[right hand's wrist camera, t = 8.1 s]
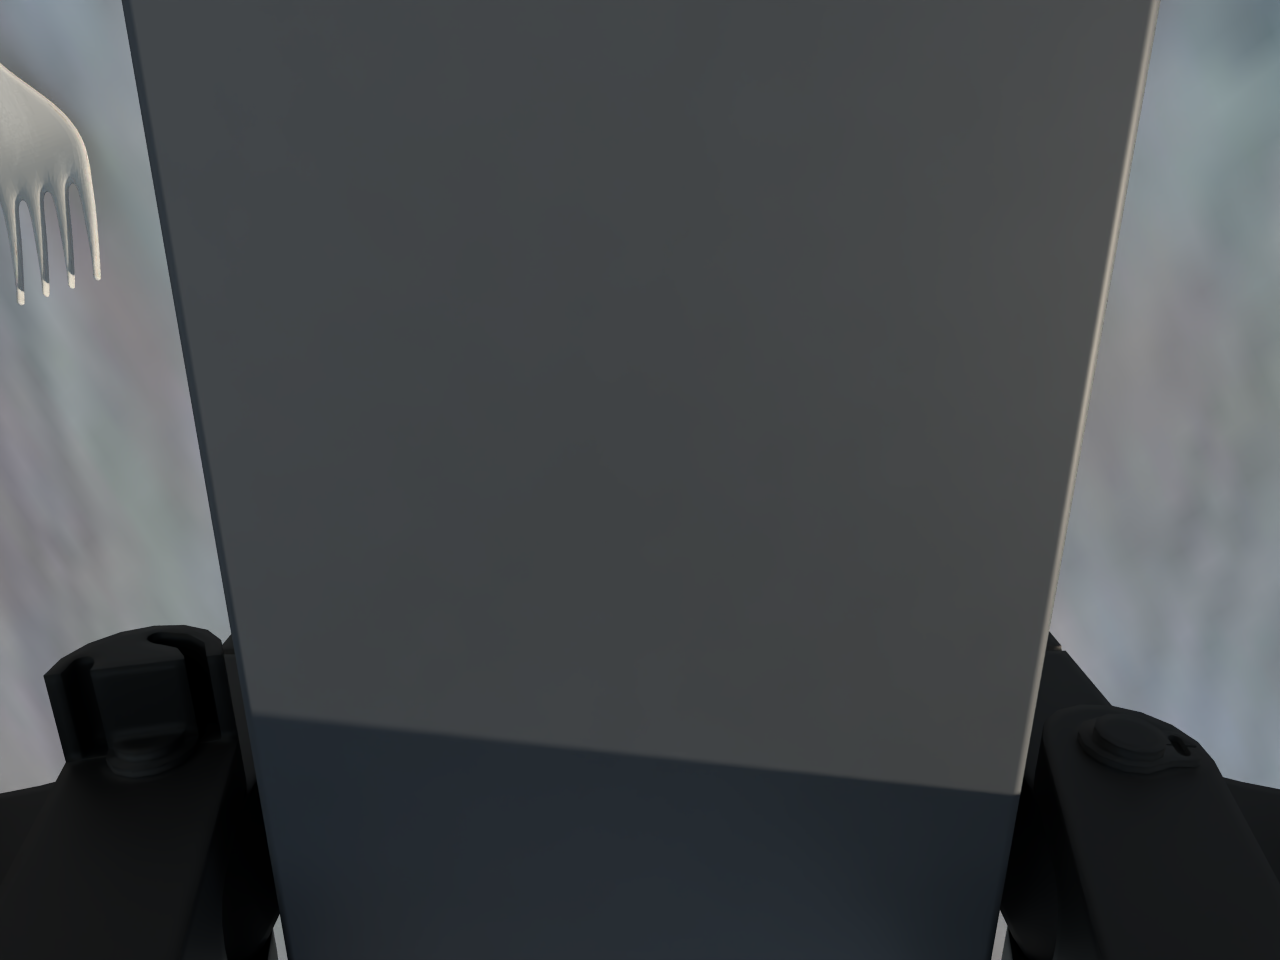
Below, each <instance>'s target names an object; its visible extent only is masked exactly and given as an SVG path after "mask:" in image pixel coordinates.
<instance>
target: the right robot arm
mask: <svg viewBox="0 0 1280 960" xmlns="http://www.w3.org/2000/svg"><path fill="white" fill-rule="evenodd" d="M44 680H45V683H46V687H47V691H48V695H49V699H50V703H51V707H52V710H53V714H54V718H55V722H56V726H57V730H58V733H59V737H60V741H61V745H62V749H63V753H64V757H65V760H66V763H65V765H64V767H63V769H62V771H61V773H60V775H59V776H58V778H57V780H56V782H53V783H49V784H45V785H41V786H37V787H32V788H26V789H21V790H16V791H11V792H6V793H1V794H0V960H278V955H277V948H276V943H275V937H274V931H273V927H274V925H275V923H276V921H277V918H278V916H279V914H280V911H279V906H278V900H277V894H276V888H275V883H274V877H273V871H272V865H271V859H270V854H269V848H268V842H267V836H266V831H265V825H264V819H263V813H262V807H261V802H260V796H259V790H258V784H257V779H256V773H255V767H254V761H253V755H252V750H251V744H250V738H249V732H248V727H247V721H246V715H245V709H244V704H243V698H242V692H241V686H240V680H239V675H238V669H237V663H236V657H235V652H234V646H233V640H232V634H231V635H230V636H229V637H228V639H227V640H226V641H225V642H224V643H223V645H222V642H221V640H220V639H219V638H218V637H216V636H215V635H214V634H212V633H211V632H210V631H208V630H206V629H201V628H196V627H191V626H187V625H167V626H151V627H145V628H140V629H135V630H130V631H124V632H120V633H117V634H114V635H111V636H108V637H106V638H103V639H100V640H97V641H94V642H91V643H88V644H87V645H85V646H83V647H81V648H79V649H78V650H76V651H74V652H72V653H70V654H69V655H67V656H65V657H63V658H61V659H60V660H59V661H58V662H57V663H56V664H55V665H54V666H53V667H52V668H51V669H50V670H49V671H48V672H47V673H46V674H45V675H44ZM1000 911H1001V913H1002V915H1003V917H1004V919H1005V921H1006V923H1007V925H1008V926H1007V931H1006V937H1005V943H1004V948H1003V954H1002V959H1001V960H1280V789H1275V788H1270V787H1265V786H1260V785H1255V784H1250V783H1245V782H1240V781H1236V780H1232V779H1228V778H1224V777H1222V775H1221V773H1220V771H1219V769H1218V767H1217V765H1216V764H1215V762H1214V760H1213V759H1212V758H1211V757H1210V756H1209V754H1208V753H1207V752H1206V751H1205V750H1204V749H1203V747H1202V746H1201V745H1200V744H1199V743H1198V742H1197V741H1196V740H1194V739H1193V738H1191V737H1189V736H1188V735H1186V734H1185V733H1183V732H1182V731H1180V730H1179V729H1177V728H1176V727H1174V726H1173V725H1171V724H1168V723H1166V722H1163V721H1161V720H1159V719H1156V718H1154V717H1151V716H1149V715H1146V714H1144V713H1142V712H1137V711H1133V710H1128V709H1124V708H1119V707H1115V706H1112V705H1111V704H1110V703H1109V702H1108V701H1107V699H1106V698H1105V697H1104V696H1103V695H1102V693H1101V692H1100V691H1099V690H1098V689H1097V688H1096V686H1095V685H1094V684H1093V683H1092V682H1091V680H1090V679H1089V678H1088V677H1087V676H1086V674H1085V673H1084V672H1083V671H1082V670H1081V669H1080V667H1079V666H1078V665H1077V664H1076V663H1075V661H1074V660H1073V659H1072V658H1071V657H1070V655H1069V654H1068V653H1067V652H1066V651H1062V650H1061V645H1060V644H1059V642H1058V641H1057V640H1056V639H1055V638H1054V636H1053V635H1052V634H1051V633H1050V632H1049V634H1048V640H1047V645H1046V651H1045V657H1044V662H1043V668H1042V674H1041V679H1040V685H1039V691H1038V696H1037V702H1036V708H1035V713H1034V719H1033V725H1032V730H1031V736H1030V742H1029V747H1028V753H1027V759H1026V764H1025V770H1024V776H1023V781H1022V787H1021V793H1020V798H1019V804H1018V810H1017V815H1016V821H1015V827H1014V832H1013V838H1012V844H1011V849H1010V855H1009V861H1008V866H1007V872H1006V878H1005V883H1004V889H1003V894H1002V900H1001V906H1000Z"/></svg>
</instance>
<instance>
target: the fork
mask: <svg viewBox="0 0 1280 960" xmlns="http://www.w3.org/2000/svg"><path fill="white" fill-rule="evenodd" d="M72 183H74V184H75V185H76V186H77V189H78V191H79V195H80V199H81V203H82V208H83V213H84V218H85V223H86V228H87V234H88V239H89V245H90V251H91V257H92V264H93V276H94V279H96V280H100V279H101V275H100V258H99V242H98V230H97V218H96V208H95V200H94V193H93V185H92V178H91V171H90V165H89V159H88V155H87V151H86V148H85V145H84V142H83V140H82V138H81V136H80V134H79V132H78V131H77V129H76V128H75V126H74V125H73V124H72V122H71V121H70V120H69V119H68V117H67V116H66V115H65V114H64V113H63V112H62V111H61V110H60V109H59V108H58V107H57V106H55V105H54V104H53V103H52V102H51V101H49V100H48V99H47V98H46V97H44V96H43V95H42V94H40V93H39V92H38V91H36V90H35V89H34V88H32V87H31V86H29V85H28V84H27V83H25V82H24V81H22V80H21V79H20V78H18V77H17V76H16V75H14V74H13V73H12V72H10V71H9V70H8V69H7V68H5V67H4V66H3V65H2V64H1V63H0V203H1V206H2V210H3V213H4V218H5V222H6V227H7V232H8V238H9V244H10V250H11V256H12V262H13V268H14V275H15V283H16V292H17V303H18V304H19V305H24V276H23V258H22V243H21V231H20V222H19V203H20V202H21V201H22V200H24V201H25V202H26V203H27V206H28V208H29V212H30V216H31V220H32V225H33V230H34V236H35V242H36V248H37V253H38V259H39V266H40V273H41V280H42V291H43V294H44V295H45V296H46V297H49V267H48V251H47V236H46V225H45V215H44V195H45V193H46V192H50V193H51V195H52V197H53V200H54V204H55V208H56V212H57V217H58V222H59V227H60V233H61V238H62V244H63V250H64V256H65V262H66V269H67V277H68V285H69V287H71V288H74V287H75V275H74V256H73V240H72V228H71V218H70V208H69V186H70V184H72Z"/></svg>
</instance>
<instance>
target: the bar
mask: <svg viewBox="0 0 1280 960" xmlns="http://www.w3.org/2000/svg"><path fill="white" fill-rule="evenodd" d="M122 5H123V11H124V16H125V22H126V28H127V34H128V39H129V45H130V51H131V57H132V63H133V68H134V74H135V80H136V86H137V91H138V97H139V103H140V109H141V115H142V120H143V126H144V132H145V138H146V143H147V149H148V155H149V161H150V166H151V172H152V178H153V184H154V190H155V195H156V201H157V207H158V213H159V218H160V224H161V230H162V236H163V242H164V247H165V253H166V259H167V265H168V270H169V276H170V282H171V288H172V294H173V299H174V305H175V311H176V317H177V322H178V328H179V334H180V340H181V345H182V351H183V357H184V363H185V369H186V374H187V380H188V386H189V392H190V397H191V403H192V409H193V415H194V421H195V426H196V432H197V438H198V444H199V449H200V455H201V461H202V467H203V473H204V478H205V484H206V490H207V496H208V501H209V507H210V513H211V519H212V525H213V530H214V536H215V542H216V548H217V553H218V559H219V565H220V571H221V576H222V582H223V588H224V594H225V600H226V605H227V611H228V617H229V623H230V628H231V634H232V640H233V646H234V652H235V657H236V663H237V669H238V675H239V680H240V686H241V692H242V698H243V704H244V709H245V715H246V721H247V727H248V732H249V738H250V744H251V750H252V755H253V761H254V767H255V773H256V779H257V784H258V790H259V796H260V802H261V807H262V813H263V819H264V825H265V831H266V836H267V842H268V848H269V854H270V859H271V865H272V871H273V877H274V883H275V888H276V894H277V900H278V906H279V911H280V917H281V923H282V929H283V935H284V940H285V946H286V952H287V958H288V960H991V957H992V951H993V945H994V940H995V934H996V928H997V923H998V917H999V911H1000V906H1001V900H1002V894H1003V889H1004V883H1005V878H1006V872H1007V866H1008V861H1009V855H1010V849H1011V844H1012V838H1013V832H1014V827H1015V821H1016V815H1017V810H1018V804H1019V798H1020V793H1021V787H1022V781H1023V776H1024V770H1025V764H1026V759H1027V753H1028V747H1029V742H1030V736H1031V730H1032V725H1033V719H1034V713H1035V708H1036V702H1037V696H1038V691H1039V685H1040V679H1041V674H1042V668H1043V662H1044V657H1045V651H1046V645H1047V640H1048V634H1049V628H1050V623H1051V617H1052V611H1053V606H1054V600H1055V594H1056V589H1057V583H1058V577H1059V572H1060V566H1061V561H1062V555H1063V549H1064V544H1065V538H1066V532H1067V527H1068V521H1069V515H1070V510H1071V504H1072V498H1073V493H1074V487H1075V481H1076V476H1077V470H1078V464H1079V459H1080V453H1081V447H1082V442H1083V436H1084V430H1085V425H1086V419H1087V413H1088V408H1089V402H1090V396H1091V391H1092V385H1093V379H1094V374H1095V368H1096V362H1097V357H1098V351H1099V345H1100V340H1101V334H1102V328H1103V323H1104V317H1105V311H1106V306H1107V300H1108V294H1109V289H1110V283H1111V277H1112V272H1113V266H1114V260H1115V255H1116V249H1117V244H1118V238H1119V232H1120V227H1121V221H1122V215H1123V210H1124V204H1125V198H1126V193H1127V187H1128V181H1129V176H1130V170H1131V164H1132V159H1133V153H1134V147H1135V142H1136V136H1137V130H1138V125H1139V119H1140V113H1141V108H1142V102H1143V96H1144V91H1145V85H1146V79H1147V74H1148V68H1149V62H1150V57H1151V51H1152V45H1153V40H1154V34H1155V28H1156V23H1157V17H1158V11H1159V6H1160V0H122Z"/></svg>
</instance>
